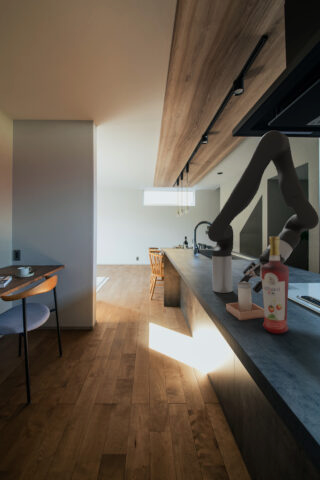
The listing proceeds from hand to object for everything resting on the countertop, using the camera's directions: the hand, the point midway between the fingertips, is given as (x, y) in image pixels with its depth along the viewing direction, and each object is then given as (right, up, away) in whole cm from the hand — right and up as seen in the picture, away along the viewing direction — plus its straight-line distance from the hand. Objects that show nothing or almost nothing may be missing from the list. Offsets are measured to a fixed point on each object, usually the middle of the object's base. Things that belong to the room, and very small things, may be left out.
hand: (247, 288), depth 80 cm
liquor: (+3, -10, -14) cm, 17 cm away
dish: (-1, -9, 0) cm, 9 cm away
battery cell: (-1, -9, 0) cm, 9 cm away
